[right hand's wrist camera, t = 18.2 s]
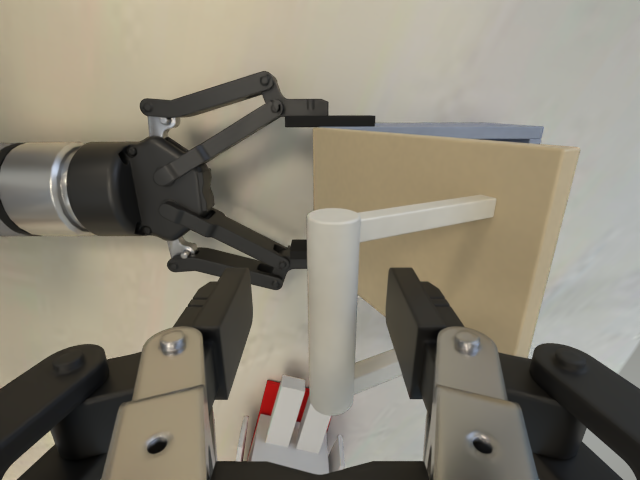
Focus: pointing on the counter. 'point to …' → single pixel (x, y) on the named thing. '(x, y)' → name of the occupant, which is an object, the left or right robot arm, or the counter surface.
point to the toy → (291, 431)
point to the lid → (426, 240)
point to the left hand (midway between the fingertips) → (369, 189)
